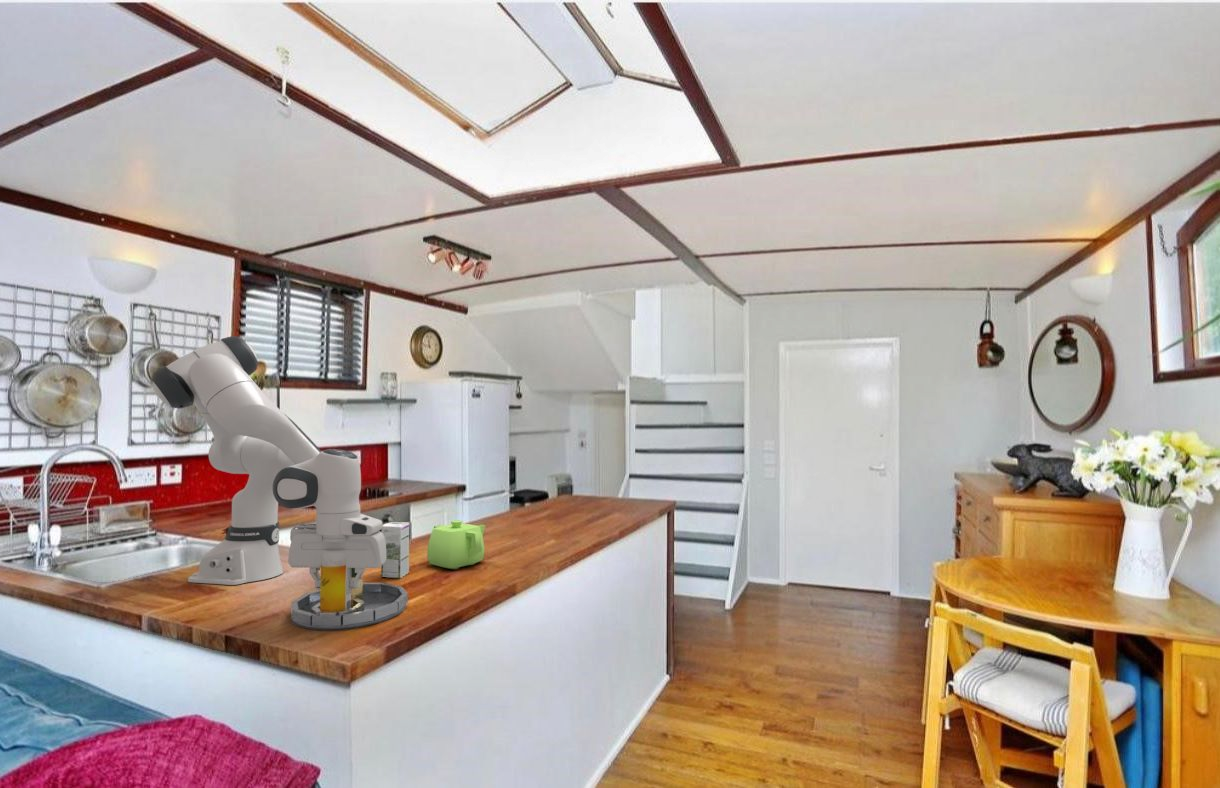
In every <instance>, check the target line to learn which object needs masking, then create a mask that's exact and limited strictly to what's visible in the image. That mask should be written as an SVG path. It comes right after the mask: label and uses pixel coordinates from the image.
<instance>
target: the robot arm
mask: <svg viewBox="0 0 1220 788" xmlns="http://www.w3.org/2000/svg"><path fill="white" fill-rule="evenodd" d="M258 365H259V361H258V357H257V353H256V352H255V350H254V348H253V347H252V346H251V345H250V343H248V342H246V340H244V339H243V338H242V337H239V336H235V335H233V336H228V337H224V338H220V340H219V341H216V342H212V343H209V344H207V345H204V346H201V347H199V348H197V349H194V350H192V351H191V352H189V353H186V354H185V355H184V356H181V357H179V358H178V359H176V360H174V361H172V362H171V363H169V364H167V365H163V366H161V367H160V368H158V369H157V370H155V371H154V372H153V373H152V376H151V382H152V388H153V392H154V393H155V395H156V397H158V399H159V400H160V401H162V402H163V403H164V404H165V405H168V406H170V407H171V408H173V409H179V410H180V409H185V408H188V407H191V406H195V408H196V409H197V411H198V412H199V414H200V415H201V416H202V418H203V420H204V421H205V423H206V425H208V427H209V429H210V431H211V433H212V436H213V439H214V440H213V442H212V443H211V445H210V446H209V447H210V448H209V449H208V461H209V463H210V465H211V467H213V468H214V469H216V470H217V471H221V472H225V473H228V474H231V475H232V474H233V475H236V474H237V475H245V474H246V475H249V476H248V480H247V483H246V484H245V487H244V488H243V489H240V490H239V491H237V493H235V494H234V496H233V497H232V499H231V525H230V526H228V527H226V528H224V529H221V530H220V531H221V535H225V536H224V539H223V540H222V541H221V542H219V543H218V544H216V546H214V547H213V548H212V549H210V550H208V552H205V554H204V555H203V556H202V557H201V558H200V562H199V566H198V571H196V572H195V573H193V574H191V575H190V576H188V578H187V579H188V580H187V582H188V583H196V584H197V583H198V584H213V585H227V586H237V585H240V584H245V583H251V582H258V581H264V580H268V579H271V578H275V577H278V576H280V575H282V574H283V573H284V568H283V565H282V561H281V557H280V550H279V541H280V522H279V517H278V515H279V514H278V513H279V505H280V507H283V508H285V509H289V510H290V509H291V510H292V509H293V510H298V509H304V508H309V507H310V508H311V507H315V508H316V510H315V511H316V517H315V518H316V519H315V523H298V524H297V525H295V526H293V527H292V528H291V529H290V533H289V535H290V536H289V539H290V544H289V545H290V546H289V549H288V550H289V551H288V557H287V558H288V560H287V562H288V565H289V566H290V567H291V568H295V569H296V568H299V569H300V568H302V569H303V568H306V569H307V568H308V569H309V570H308V571H309V572H308V573H309V574H310V576H311V578H312V580H313V581H314V588H315V589H320V586H321V573H320V571H321V554H322V552H323V549H324V550H328V551H338V550H344V549H346V550H345V553H346V567H347V568H355V573H357V575H356V577H355V578H353V579H352V580H350V588H358V587H359V585H360V578H362V576H363V575H364V574H365V571H366V569H379V568H381V566H382V565H383V564H384V563H385V561H386V542H385V537H384V535H383V533H382V526H383V525H384V523H383V521H382V520H381V519H378V518H375V517H373V516H369V515H366V514H364V513H361V509H362V508H361V505H360V494H361V490H362V473H361V471H362V470H361V463H360V460H359V457H358V455H356V454H355V453H354V452H352V451H349V450H346V449H336V448H329V449H327V448H326V449H323V450H321V449H320V448H319V447H318V445H316V443H314V441H312V440H311V438H310V437H309V436H308V435H307V434H306V433H305V432H304V431H303V430H302V429H301V427H299V426H298V425H297V423H296V422H294V421H293V420H292V419H291V418H290V417H289V416H288V415H287V414H285V412H283V411H282V410H281V409H280V408H279V407H278V406H276V404H274V402H273V401H272V400H271V399H270V398H269V397H268V396H267V395H266V394H265V393H264V392H263V391H262V389H261V388H260V387H259V386H258V384H257V383H256V382H255V381H254V380H253V379H252V377H251V375H252V374H253V373H255V372H256V371H257V370H258ZM380 530H381V531H380Z"/></svg>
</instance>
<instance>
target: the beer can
mask: <svg viewBox="0 0 1220 788" xmlns="http://www.w3.org/2000/svg"><path fill="white" fill-rule="evenodd" d="M345 550H346V549H344V550H338V551H328V550H324V549H323V552H322V554H321V568H320V576H321V586H320V588H319V590H320V609H321V610H322V611H340V610H344V609H348V608H351V588H350V580H351V568H347V567H346V553H345Z"/></svg>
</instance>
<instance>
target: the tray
mask: <svg viewBox="0 0 1220 788" xmlns="http://www.w3.org/2000/svg"><path fill="white" fill-rule="evenodd" d="M353 578H355V577H352V578H351V580H352V579H353ZM408 596H409V594H408V592H407V590H405V588H404V587H403V586H401V585H396V584H392V583H386V582H364V579H363V577H361V578H360V585H359V587H358V588H351V608H348V609H344V610H340V611H322V610H321V609H320V589H317V590H313V591H310V592H309V591H308V592H306V593H304V594H303V595H300V596H299V597H297V598H296V599H294V600H293V601H291V602H290V614H291V615H290V616H291V622H292V623H291V624H294V625H295V626H296V627H299V628H301V629H305V630H311V631H344V630H352V629H353V630H354V629H359V628H364V627H369V626H372V625H373V624H374V625H376V624H380V623H383V621H384V622H386V621H389V620H391V619H394V618H395V617H397V616H399V615H401V614H402V613H403V612H404V611H405V610H406V608H407V604H408V603H409V602H408V601H409V597H408ZM401 612H402V613H401Z"/></svg>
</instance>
